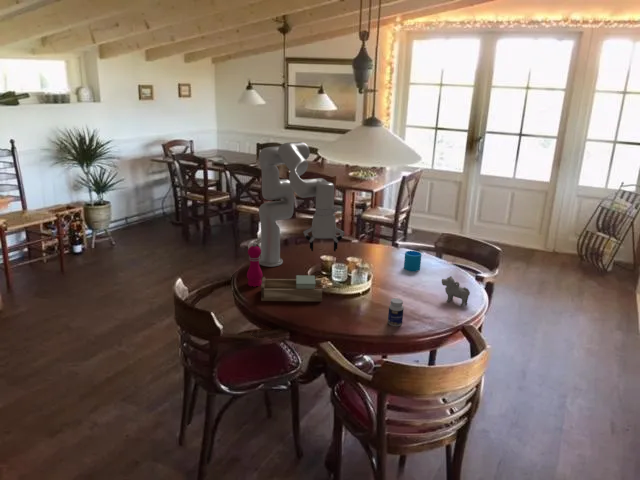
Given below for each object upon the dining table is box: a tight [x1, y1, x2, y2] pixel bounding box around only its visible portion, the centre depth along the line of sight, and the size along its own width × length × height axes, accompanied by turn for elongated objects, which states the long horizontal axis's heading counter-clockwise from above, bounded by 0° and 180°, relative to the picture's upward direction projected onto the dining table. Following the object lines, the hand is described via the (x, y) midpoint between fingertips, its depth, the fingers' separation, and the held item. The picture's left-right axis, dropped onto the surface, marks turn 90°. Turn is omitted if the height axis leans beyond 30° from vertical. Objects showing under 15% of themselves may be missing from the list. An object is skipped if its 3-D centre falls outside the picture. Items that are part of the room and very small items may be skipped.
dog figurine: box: [441, 276, 471, 307], centre depth 229 cm, size 5×13×11 cm, turn 54°
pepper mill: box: [246, 242, 264, 288], centre depth 239 cm, size 7×7×20 cm
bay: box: [260, 276, 323, 302], centre depth 230 cm, size 12×26×6 cm, turn 93°
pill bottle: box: [387, 297, 404, 327], centre depth 207 cm, size 6×6×10 cm
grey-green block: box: [295, 274, 316, 289], centre depth 230 cm, size 9×8×6 cm
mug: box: [403, 250, 422, 272], centre depth 267 cm, size 12×8×8 cm
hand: (323, 250), depth 225 cm, fingers open, 9 cm apart
